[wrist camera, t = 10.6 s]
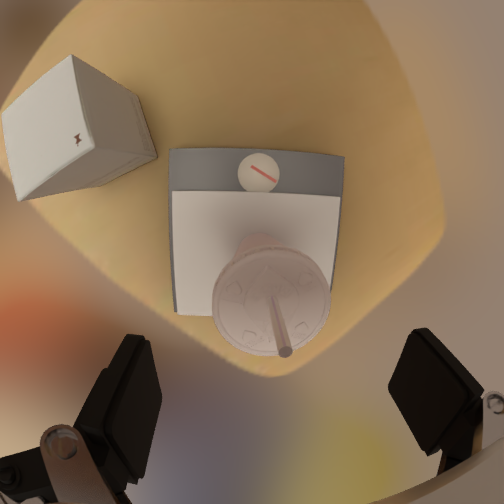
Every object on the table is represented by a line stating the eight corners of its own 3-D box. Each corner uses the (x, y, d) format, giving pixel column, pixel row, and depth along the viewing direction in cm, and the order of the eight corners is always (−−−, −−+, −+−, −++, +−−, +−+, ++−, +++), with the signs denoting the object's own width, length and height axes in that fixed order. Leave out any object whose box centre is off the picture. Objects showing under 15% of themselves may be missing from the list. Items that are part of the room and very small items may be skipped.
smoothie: (292, 212, 22) (369, 272, 9) (299, 283, 24) (357, 397, 11) (215, 222, 22) (181, 300, 9) (227, 293, 24) (219, 421, 11)
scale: (177, 151, 24) (167, 148, 20) (333, 158, 25) (348, 156, 21) (180, 298, 28) (172, 316, 24) (319, 300, 29) (329, 317, 25)
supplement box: (139, 94, 22) (74, 48, 10) (159, 158, 24) (96, 150, 12) (80, 126, 22) (-1, 112, 10) (98, 188, 24) (16, 205, 12)
